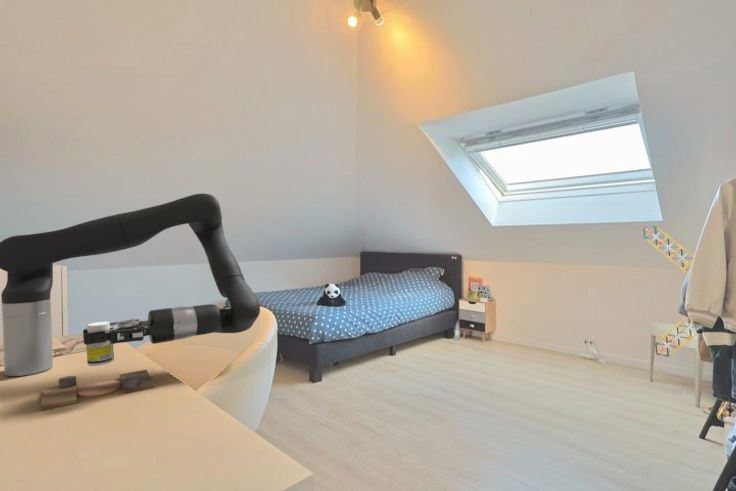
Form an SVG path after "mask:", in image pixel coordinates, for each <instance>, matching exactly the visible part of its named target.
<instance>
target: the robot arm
mask: <svg viewBox="0 0 736 491" xmlns="http://www.w3.org/2000/svg"><path fill="white" fill-rule="evenodd" d="M222 216H223V215H222V211H221V206H220V202H219V200H218V199H217V197H216V196H214V195H212V194H208V193H195V194H192V195H191V194H190V195H188V196H184V197H181V198H178V199H175V200H172V201H168V202H166V203H161V204H160V205H159V204H158V205H153V206H149V207H145V208H141V209H137V210H133V211H128V212H121V213H117V214H112V215H108V216H104V217H99V218H96V219H92V220H88V221H85V222H82V223H77V224H75V225H72V226H68V227H64V228H62V229H57V230H51V231H46V232H45V231H44V232H39V233H31V234H30V233H29V234H21V235H20V234H19V235H11V236H9V237H6V238H4V239H3V240H2V241H0V270H2V271H5V272H6V273H7V275H6V278H7V280H6V285H5V286H4V288H3V289H2V292H1V313H2V314H1V316H2V319H1V320H2V342H3V346H2V347H3V368H4V376H6V377H19V376H29V375H34V374H38V373H41V372H45V371H48V370H50V369H52V368H53V367H54V366H53V365H54V358H53V355H54V354H53V328H52V307H51V306H52V303H51V302H52V301H51V292H52V291H51V290H52V288H53V285H54V282H53V281H54V280H53V279H54V277H53V276H54V271H53V270H54V268H53V267H54V264H55V263H57V262H61V261H63V260H64V261H65V260H69V259H73V258H74V259H75V258H81V257H88V256H89V257H90V256H96V255H97V256H99V255H103V254H104V255H105V254H110V253H114V252H119V251H123V250H127V249H131V248H135V247H137V246H140V245H143V244H144V243H146V242H148V241H149V240H151V239H153V238H154V237H156V236H157V235H158V234H160V233H161V232H163V231H165V230H167V229H170V228H172V227H173V228H174V227H177V226H181V225H186V224H187V225H188V226H189V227H190V228H191V230H192V231H193V233H194V235H195V236H196V237H197V239H198V241H199V242H200V244H201V246H202V248H203V250H204V252H205V255H206V258H207V262H208V264H209V268H210V272H211V275H212V277H213V279H214V282H215V285H216V287H217V290H218V292H219V294H220V296H222V298H226V299H227V300H228V302H229V304H230V307H228V308H219V306H217V305H216V304H210V303H209V304H200V305H191V306H175V307H168V308H167V307H166V308H161V309H160V308H159V309H152V310H149V312H148V313H147V314H148V315H147V320H140V318H131V319H128V320H121V321H116V322H109V323H110V329H108V330H106V333H105V331H99V332H92V333H89V332H88V331H87V328H84V329H83V331H82V335H83V336H82V338H83V345H88V344H94V343H101V342H107V343H111V344H113V345H114V344H115V345H116V344H120V343H121V344H122V343H130V342H142V341H143V340H144V337H147V336H148V337H149V340H150V343H151V344H153V345H154V344H161V343H167V342H172V341H173V342H174V341H178V340H179V341H180V340H184V339H188V338H192V337H196V336H202V335H208V334H213V333H216V334H239V333H243V332H245V331H248V330H250V328H252V326H253V325H254V323H255V322H256V321H257V319H258V317H259V315H260V312H261V305H260V301H259V300H258V298H257V296H256V294H255V293H254V291H253V290H252V288H251V287H250V286H249V285H248V283H247V282H246V279H245V277H244V275H243V272H242V269H241V268H240V265H239V263H238V261H237V260H236V258H235V256H234V254H233V252H232V250H231V249H230V247H229V245H228V243H227V240H226V237H225V232H224V227H223V221H222V220H223V217H222Z"/></svg>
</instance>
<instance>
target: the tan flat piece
mask: <svg viewBox="0 0 736 491" xmlns="http://www.w3.org/2000/svg"><path fill="white" fill-rule="evenodd" d="M118 377H119V380H103V381H98V382H97V381H96V382H94V383H93V382H92V383H88V384H86V385H84V386H81V387H79V388H78V384H77V383H78V382H77V376H76V375H69V376H63V377H60V378H59V379H58V384H57V385H53V386H48V387H44V389H43V392H42V393H43V394H42V398H41V403H40V405H39V406H40V409H39V410H40V411H45V410H49V409H55V408H59V407H63V406H70V405H75V404H77V402H78V401H77V400H78V398H77V396H78V397H84V398H86V397H87V398H89V397H98V396H103V395H107V394H111V393H113V392H115V391H119V390H120V389H123V393H124V394H128V393H132V392H137V391H143V390H148V389H153V388H155V382H154V381H153V378H152V377H151V374H150V373H149V371H148V370H147V369H143V370H136V371H132V372H125V373H121V374H119V376H118Z"/></svg>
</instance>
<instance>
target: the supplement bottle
mask: <svg viewBox="0 0 736 491" xmlns="http://www.w3.org/2000/svg"><path fill="white" fill-rule="evenodd" d="M110 323H111V322H110V321H98V322H97V321H96V322H91V323H89V324H87V326H86V327H87V328H86V329H87V331H88V332H89V333H92V332H99V331H105V333H106V330H108V329H110ZM114 354H115V352H114V344H111V343H107V342H101V343H94V344H88V345H86V362H87V365H88V366H90V367H97V366H98V367H99V366H104V365H105V366H106V365H108V364H110V363H112V362H114V360H115V355H114Z"/></svg>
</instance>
